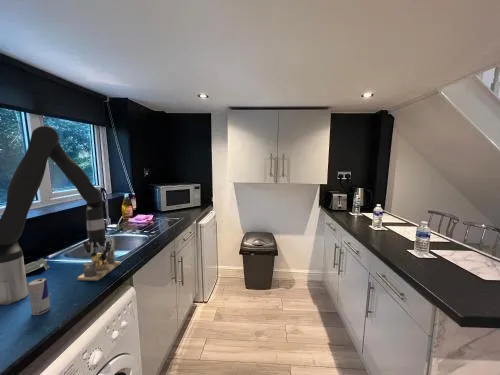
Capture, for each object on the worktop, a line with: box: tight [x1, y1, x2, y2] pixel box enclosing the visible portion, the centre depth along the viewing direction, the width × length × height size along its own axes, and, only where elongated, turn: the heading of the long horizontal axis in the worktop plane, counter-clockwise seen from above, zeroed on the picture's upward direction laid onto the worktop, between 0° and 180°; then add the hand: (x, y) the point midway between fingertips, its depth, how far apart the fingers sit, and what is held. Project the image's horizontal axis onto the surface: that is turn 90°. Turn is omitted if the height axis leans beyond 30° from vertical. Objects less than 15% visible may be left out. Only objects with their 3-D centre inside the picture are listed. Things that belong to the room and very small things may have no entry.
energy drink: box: [27, 277, 51, 316], centre depth 90 cm, size 5×5×12 cm
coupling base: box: [77, 248, 121, 281], centre depth 122 cm, size 18×10×8 cm, turn 177°
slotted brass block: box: [90, 252, 107, 266], centre depth 121 cm, size 5×4×5 cm
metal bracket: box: [24, 258, 50, 274], centre depth 124 cm, size 14×6×15 cm
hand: (99, 260), depth 121 cm, fingers open, 4 cm apart
